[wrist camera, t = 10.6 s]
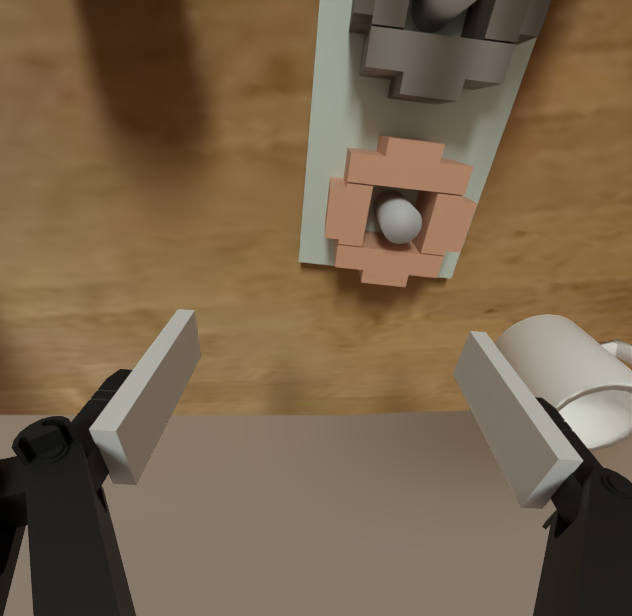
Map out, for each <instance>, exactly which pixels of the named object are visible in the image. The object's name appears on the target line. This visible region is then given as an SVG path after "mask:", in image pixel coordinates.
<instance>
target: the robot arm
mask: <svg viewBox="0 0 632 616" xmlns="http://www.w3.org/2000/svg"><path fill="white" fill-rule="evenodd" d="M200 357H201V353H200V346H199V339H198V331H197V324H196V317H195V310H182V309H178V310H177V311H176V313H175V314H174V315H173V317H172V318H171V319H170V321H169V322H168V323H167V325H166V326H165V327H164V329H163V330H162V332H161V333H160V334H159V336H158V337H157V338H156V340H155V341H154V342H153V344H152V345H151V346H150V348H149V349H148V350H147V352H146V353H145V354H144V356H143V357H142V358H141V360H140V361H139V363H138V364H137V365H136V367H135V368H134V369H133V370H126V369H120V370H118V371H117V372H115V373H114V374H113V375H111V376H110V377H108V378H107V379H106V380H105V382H104V383H103V384H102V385H101V386H100V388H99V389H98V391H96V393H95V394H94V395H93V396H92V397H91V400H89V401H88V402H87V404H86V405H85V406H84V407H83V408H82V410H81V411H80V412H79V413H78V415H77V416H76V417H75V418H74V419H73V421H72V422H70V420H69V419H68V418H65V417H63V416H52V417H48V418H44V419H41V420H39V421H37V422H35V423H33V424H31V425H29V426H28V427H26V428H25V429H24V430H22V431H21V432H20V433H19V434H18V436H17V437H16V438H15V439H14V442H13V445H12V449H13V450H14V452H15V453H16V455H17V456H16V457H11V458H6V459H1V460H0V616H3V613H4V610H5V606H6V602H7V598H8V594H9V590H10V586H11V582H12V578H13V574H14V570H15V566H16V562H17V558H18V555H19V550H20V547H21V543H22V539H23V535H24V531H25V527H26V525H28V536H29V551H30V566H31V582H32V596H33V597H32V598H33V613H34V616H136V614H135V610H134V606H133V602H132V598H131V594H130V591H129V586H128V583H127V579H126V575H125V571H124V567H123V563H122V559H121V555H120V552H119V548H118V544H117V540H116V536H115V532H114V528H113V524H112V521H111V517H110V513H109V509H108V505H107V501H106V497H105V494H104V490H103V488H102V484H103V482H104V480H105V479H106V477H107V475H108V474H109V475H110V478H111V480H112V482H113V483H114V484H115V483H116V484H132V485H136V484H137V482H138V480H139V478H140V476H141V474H142V472H143V470H144V468H145V466H146V464H147V462H148V461H149V459H150V456H151V454H152V453H153V450H154V448H155V446H156V445H157V442H158V440H159V439H160V437H161V435H162V433H163V431H164V429H165V427H166V425H167V423H168V420H169V418H170V417H171V415H172V413H173V411H174V409H175V407H176V405H177V403H178V401H179V399H180V397H181V395H182V393H183V391H184V389H185V387H186V385H187V383H188V381H189V379H190V377H191V375H192V373H193V371H194V369H195V367H196V365H197V363H198V361H199V359H200ZM453 376H454V378H455V380H456V382H457V384H458V386H459V387H460V389H461V391H462V393H463V395H464V397H465V399H466V401H467V403H468V405H469V407H470V409H471V411H472V413H473V415H474V417H475V419H476V421H477V423H478V425H479V427H480V429H481V431H482V432H483V434H484V436H485V438H486V440H487V442H488V444H489V446H490V448H491V450H492V452H493V454H494V456H495V458H496V460H497V462H498V464H499V466H500V468H501V470H502V472H503V474H504V476H505V478H506V480H507V482H508V484H509V485H510V487H511V489H512V491H513V493H514V495H515V497H516V499H517V501H518V503H519V505H520V507H522V508H539V509H540V508H541V509H542V508H543V507H544V506H545V505H546V504H547V503H548V501H549V500H550V499H551V500H552V502H553V504H554V505H555V507H556V508H557V510H556V511H555V512H554V513H553V514H552V515H551V516H550V517H549V518H548V520H547V521H546V522H545V523H544V525H543V528H545V529H547V527H548V526H549V525H551V526H550V531H549V536H548V541H547V547H546V551H545V557H544V562H543V567H542V573H541V577H540V582H539V588H538V593H537V598H536V603H535V608H534V613H533V616H632V483H631V482H630V481H629V480H628V479H626V478H625V477H623V476H622V475H620V474H618V473H617V472H615V471H612V470H610V469H607V468H603V467H602V466H601V465H600V463H599V462H598V461H597V459H596V458H595V457H594V456H593V454H592V453H591V452H590V451H589V449H588V448H587V447H586V446H585V444H584V443H583V442H582V441H581V439H580V438H579V437H578V436H577V435H576V433H575V432H574V431H572V428H571V427H570V426H569V425H568V423H567V422H565V421H564V418H563V417H562V416H561V415H560V413H559V412H558V411H557V410H556V408H555V407H553V406H552V405H551V404H550V403H548V402H547V401H546V400H545V399H543V398H541V397H534V395H533V394H532V393H531V391H530V390H529V389H528V387H527V386H526V385H525V383H524V382H523V381H522V379H521V378H520V377H519V376H518V374H517V373H516V372H515V370H514V369H513V368H512V366H511V365H510V364H509V362H508V361H507V360H506V358H505V357H504V356H503V354H502V353H501V352H500V351H499V349H498V348H497V347H496V345H495V344H494V343H493V341H492V340H491V339H490V337H489V336H488V335H487V333H486V332H474V331H470V332H469V335H468V337H467V340H466V342H465V345H464V347H463V350H462V352H461V354H460V357H459V359H458V362H457V364H456V367H455V369H454V372H453Z"/></svg>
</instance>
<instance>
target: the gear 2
mask: <svg viewBox="0 0 632 616" xmlns="http://www.w3.org/2000/svg"><path fill="white" fill-rule="evenodd" d="M444 146H445V144H441V143H436V142H431V141H426V140H418V139H410V138H401V137H393V136H384V135H379V139H378V145H377V150H376V151H375V150H366V149H357V148H349V147H348V148H347V155H346V163H345V170H344V173H345V174H344V177H343V178H336V177H330V182H329V191H328V199H327V208H326V216H325V236H324V238H331V239H335V243H334V259H335V267H338V268H348V269H357V270H359V275H360V280H361V283H370V284H380V285H389V286H398V287H406V283H407V280H408V276H409V275H413V276H422V277H432V278H437V277H438V274H439V271H440V268H441V265H442V262H443V258H444V256H443V255H445V252H446V251H450V252H459V253H460V251H461V249H462V246H463V243H464V240H465V237H466V235H467V232H468V229H469V226H470V223H471V220H472V218H473V215H474V212H475V209H476V206H477V203H475V202H474V201H472V200H470V199H468V198H466V197H465V196H463V195H465V192H466V189H467V186H468V183H469V180H470V176H471V173H472V170H473V166H470V165H467V164H463V163H460V162H457V161H454V160H451V159H443V158H441V157H442V154H443V150H444ZM373 185H379V186H388V187H397V188H405V189H414V190H419V194H418V198H417V202H416V206H415V209H416V210H417V211H418V212H419V213H420V215H421V218H422V226H421V229H420V231H419V233H418V235H417V236H416V237H415V238H414V239H413V240H411V241H409V242H407V243H403V244H396V243H393V242H391V241H389V240H388V239H387V238H386V237H385V235H384V233H381V232H372V231H365V227H366V222H367V216H368V211H369V206H370V200H371V195H372V189H373Z"/></svg>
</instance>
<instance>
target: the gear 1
mask: <svg viewBox="0 0 632 616" xmlns="http://www.w3.org/2000/svg"><path fill="white" fill-rule="evenodd" d="M551 1H552V0H476V1H475V2H474V3H473V4H471V5H470V6H469V7H468V11H467V14H466V18H465V22H464V26H463V30H462V34H461V37H454V36H446V35H438V34H431V33H423V32H415V31H407V30H403V29H404V27H405V22H406V16H407V11H408V6H409V0H352V9H351V17H350V25H349V32H351V33H359V34H365V37H364V44H363V51H362V58H361V65H360V72H359V76H363V77H372V78H380V79H388V80H391V81H390V87H389V92H388V98H389V99H398V100H406V101H414V102H422V103H430V104H443V103H450V102H457V101H459V99H460V95H461V92H462V89H468V90H476V89H480V88H485V87H490V86H495V85H500V84H503V82H504V79H505V76H506V73H507V70H508V67H509V64H510V61H511V58H512V55H513V52H514V49H515V46H516V45H518V44H521V43H524V42H526V41H529V40H531V39H534V38H536V37H539V35H540V32H541V29H542V26H543V23H544V21H545V18H546V15H547V12H548V10H549V7H550V4H551Z"/></svg>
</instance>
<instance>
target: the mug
mask: <svg viewBox="0 0 632 616" xmlns="http://www.w3.org/2000/svg"><path fill="white" fill-rule="evenodd" d="M495 345H496V347H497V348H498V349H499V351H500V352H501V353H502V354H503V356H504V357H505V358H506V360H507V361H508V362H509V364H510V365H511V366H512V368H513V369H514V370H515V372H516V373H517V374H518V376H519V377H520V378H521V379H522V381H523V382H524V383H525V385H526V386H527V387H528V389H529V390H530V391H531V393H532V394H533V395H534V397H541V398H543V399H545V400H546V401H547V402H548V403H550V404H551V405H552V406H553V407H555V408H556V410H557V411H558V412H559V413H560V415H561V416H562V417H563V418H564V421H565V422H567V423H568V425H569V426H570V427H571V428H572V431H574V432H575V433H576V435H577V436H578V437H579V438H580V439H581V441H582V442H583V443H584V444H585V446H586V447H587V448H588V449H589V451H595V450H599V449H603V448H607V447H611V446H613V445H616V444H618V443H620V442H623V441H625V440H627V439H629V438H630V437H632V370H630V369H629V368H628V367H627V366H626V365H624V364H623V363H622V362H621V361H620V360H618V359H617V358H616V357H618V358H620V359H622V360H624V361H626V362H628V363H630V364H632V345H630V344H628V343H626V342H623V341H621V340H619V339H615V340H611V341H606V342H602V343H598V342H597V341H595V340H594V339H593V338H592V337H591V336H589V335H588V334H587V333H586V332H584V331H583V330H582V329H581V328H580V327H578V326H577V325H576V324H575V323H574V322H572V321H571V320H569V319H567V318H565V317H563V316H559V315H550V314H546V315H539V316H532V317H530V318H527V319H525V320H522V321H519V322H517V323H516V324H514V325H513V326H511V327H510V328H508V329H507V330H506V331H505V332H504V333H503V334H502V335H501V336H500V337H499V338H498V339H497V341H496V343H495ZM615 356H616V357H615Z"/></svg>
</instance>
